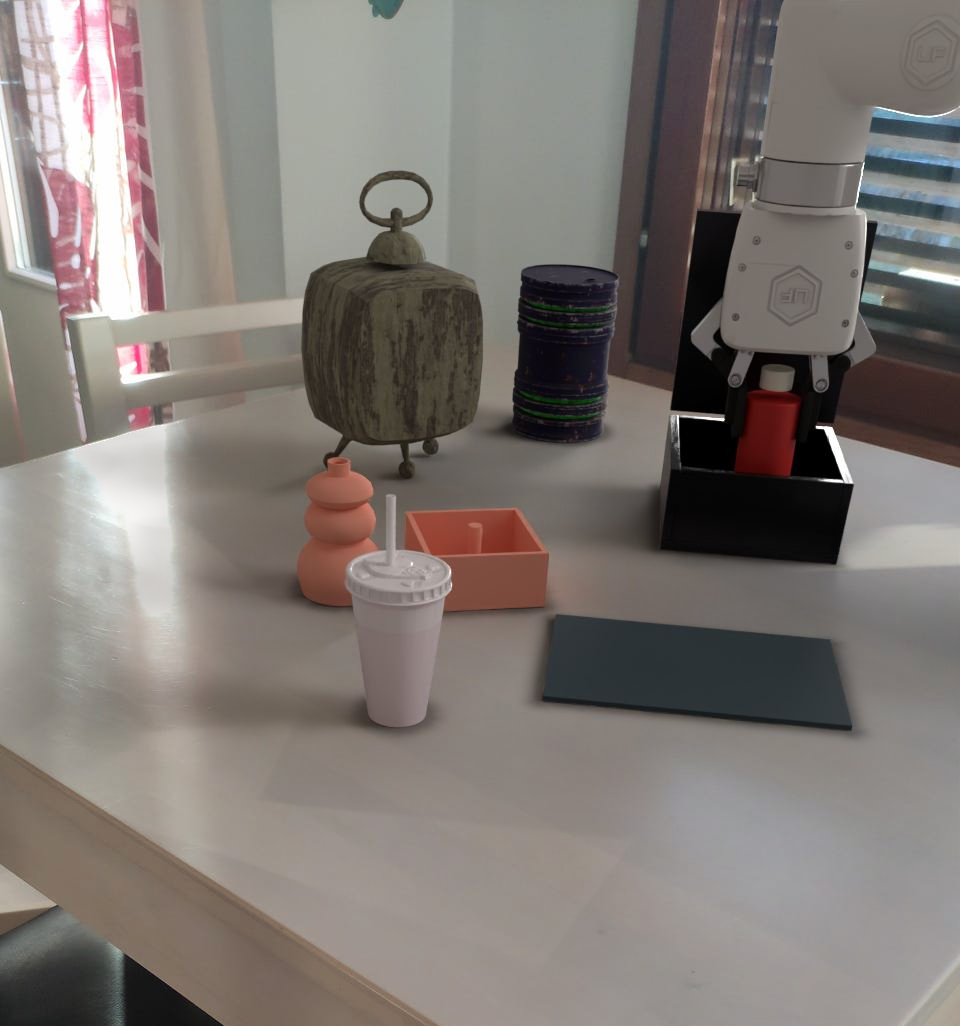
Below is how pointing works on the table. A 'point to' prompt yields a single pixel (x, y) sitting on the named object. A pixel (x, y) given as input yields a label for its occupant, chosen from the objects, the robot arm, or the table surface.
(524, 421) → the dark purple barrel
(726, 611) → the table surface
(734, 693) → the mat
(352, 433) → the tabletop clock
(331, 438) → the table surface
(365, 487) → the pottery
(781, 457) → the ketchup
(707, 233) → the lid
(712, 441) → the box
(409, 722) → the smoothie
